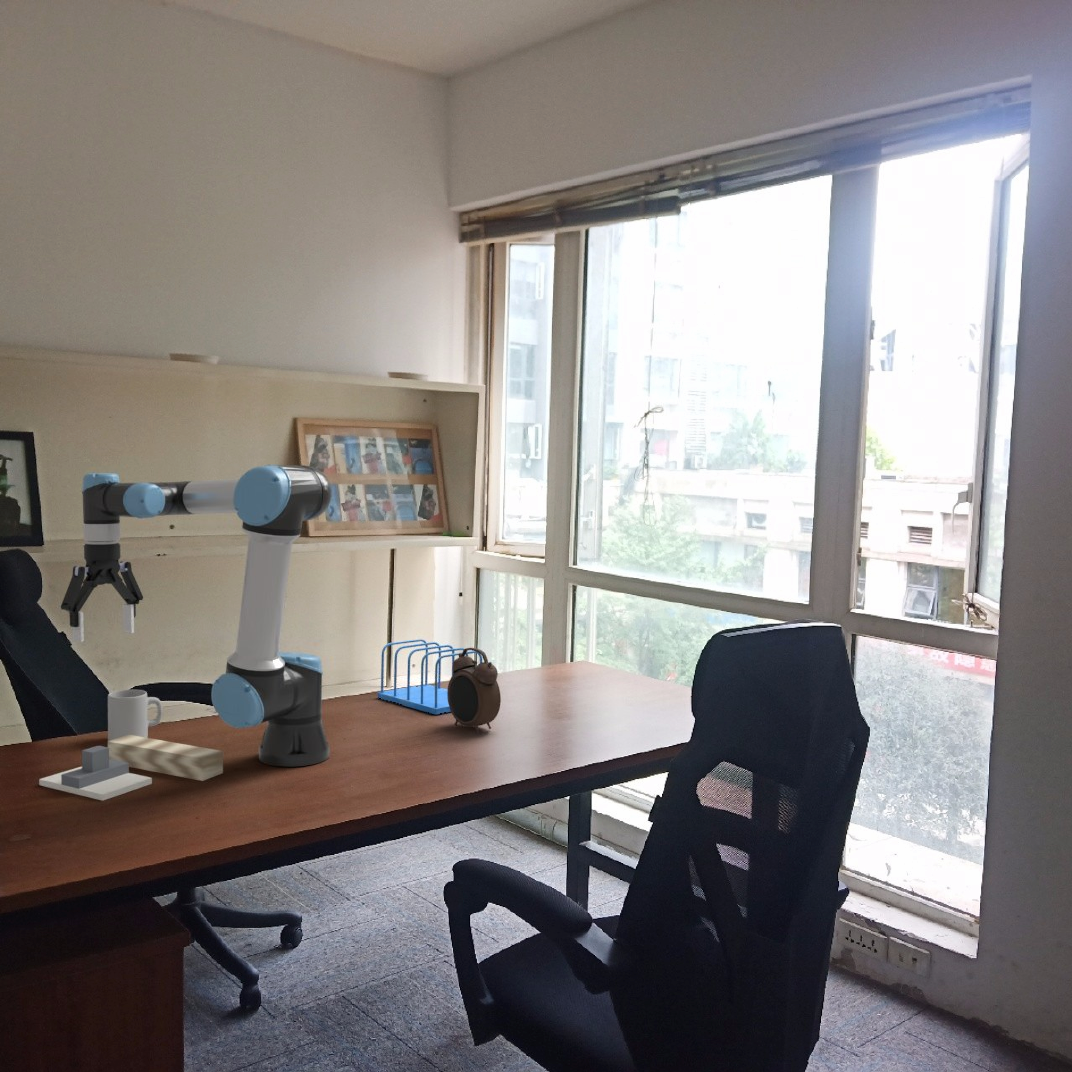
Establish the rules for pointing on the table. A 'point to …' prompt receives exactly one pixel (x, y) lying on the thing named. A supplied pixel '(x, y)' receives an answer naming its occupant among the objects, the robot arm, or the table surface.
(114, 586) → the robot arm
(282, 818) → the table surface
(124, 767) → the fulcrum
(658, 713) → the table surface
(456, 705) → the alarm clock
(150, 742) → the oak bar
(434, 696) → the file sorter
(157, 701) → the mug
